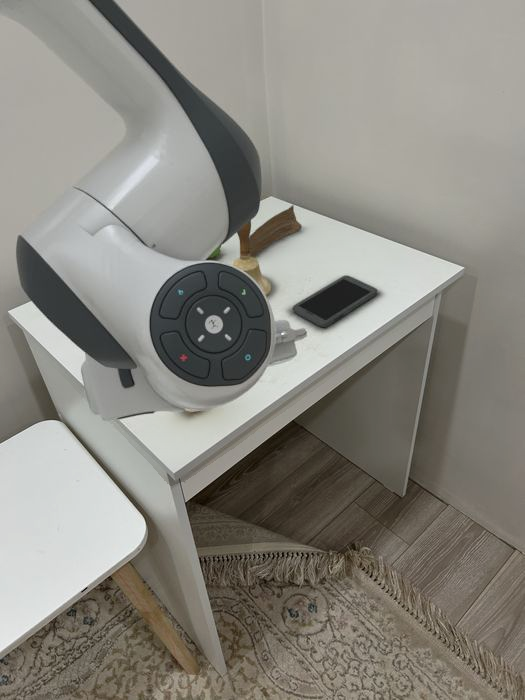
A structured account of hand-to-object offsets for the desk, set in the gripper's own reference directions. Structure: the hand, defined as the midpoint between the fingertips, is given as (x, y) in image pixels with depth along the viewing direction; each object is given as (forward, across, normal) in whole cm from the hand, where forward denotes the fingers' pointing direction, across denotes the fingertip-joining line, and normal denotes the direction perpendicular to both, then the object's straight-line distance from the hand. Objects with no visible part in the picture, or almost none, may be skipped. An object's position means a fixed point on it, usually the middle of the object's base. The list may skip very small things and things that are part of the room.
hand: (188, 372), depth 59 cm
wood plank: (+43, -26, -24) cm, 56 cm away
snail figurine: (+43, -12, -24) cm, 51 cm away
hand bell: (+33, -16, -14) cm, 40 cm away
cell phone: (+26, -28, -7) cm, 39 cm away
